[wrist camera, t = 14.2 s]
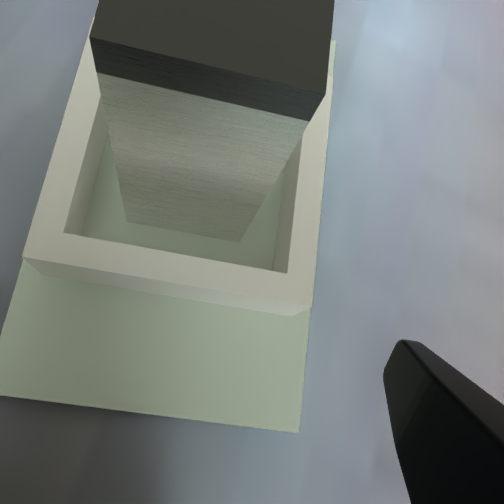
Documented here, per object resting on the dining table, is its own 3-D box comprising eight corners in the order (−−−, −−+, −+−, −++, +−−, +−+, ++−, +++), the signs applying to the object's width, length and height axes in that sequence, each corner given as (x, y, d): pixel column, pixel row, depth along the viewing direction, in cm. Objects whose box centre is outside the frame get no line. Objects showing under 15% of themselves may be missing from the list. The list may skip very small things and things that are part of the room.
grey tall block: (239, 242, 18) (325, 94, 9) (126, 221, 18) (88, 36, 8) (253, 145, 20) (341, -76, 10) (148, 122, 19) (139, -136, 9)
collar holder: (294, 431, 17) (322, 442, 14) (-11, 392, 16) (-50, 395, 13) (331, 49, 23) (357, 0, 20) (107, -10, 21) (99, -73, 18)
